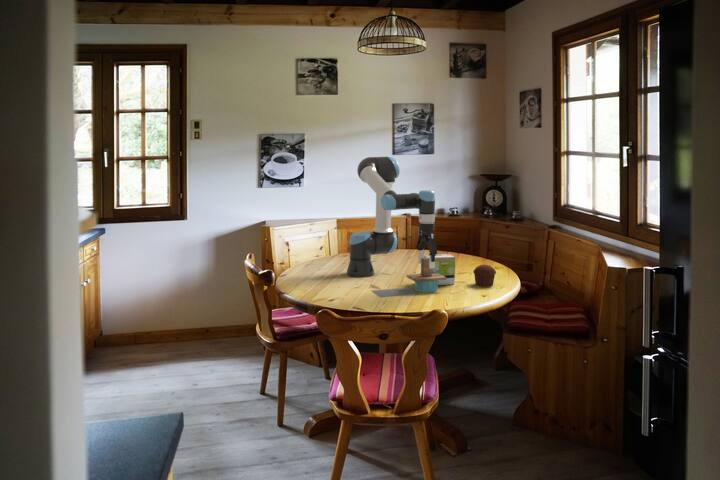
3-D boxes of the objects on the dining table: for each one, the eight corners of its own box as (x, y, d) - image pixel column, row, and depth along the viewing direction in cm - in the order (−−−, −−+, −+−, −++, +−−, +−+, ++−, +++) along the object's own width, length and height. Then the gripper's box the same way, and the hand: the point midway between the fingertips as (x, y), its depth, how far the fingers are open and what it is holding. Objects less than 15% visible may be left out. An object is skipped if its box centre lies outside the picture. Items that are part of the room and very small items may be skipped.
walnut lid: (406, 277, 299) (406, 257, 298) (436, 274, 304) (436, 255, 302) (415, 282, 288) (415, 261, 287) (446, 279, 293) (446, 259, 291)
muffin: (468, 284, 309) (468, 265, 308) (482, 281, 316) (483, 262, 315) (486, 288, 300) (487, 268, 299) (500, 284, 307) (501, 265, 305)
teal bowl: (411, 288, 301) (411, 276, 300) (432, 287, 304) (432, 275, 303) (420, 293, 290) (420, 281, 289) (441, 291, 293) (441, 279, 292)
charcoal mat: (370, 291, 296) (370, 290, 296) (408, 288, 302) (408, 287, 302) (379, 298, 283) (379, 297, 283) (419, 294, 288) (419, 293, 288)
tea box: (427, 286, 305) (428, 257, 303) (420, 282, 314) (420, 254, 312) (455, 284, 309) (455, 256, 307) (447, 280, 318) (447, 253, 316)
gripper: (410, 220, 303) (409, 261, 306) (429, 226, 279) (429, 271, 282) (423, 219, 305) (423, 260, 308) (444, 225, 281) (444, 269, 284)
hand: (426, 265), depth 295 cm, fingers open, 13 cm apart
